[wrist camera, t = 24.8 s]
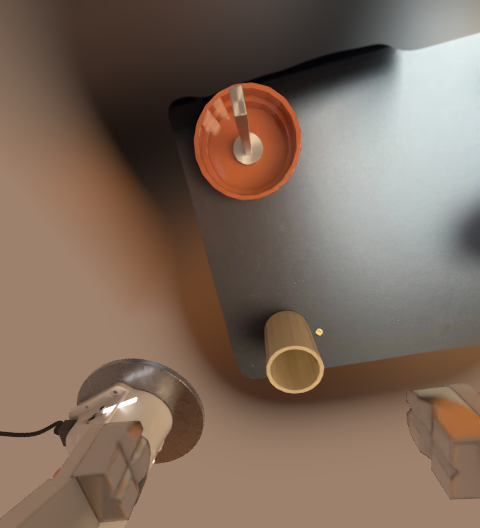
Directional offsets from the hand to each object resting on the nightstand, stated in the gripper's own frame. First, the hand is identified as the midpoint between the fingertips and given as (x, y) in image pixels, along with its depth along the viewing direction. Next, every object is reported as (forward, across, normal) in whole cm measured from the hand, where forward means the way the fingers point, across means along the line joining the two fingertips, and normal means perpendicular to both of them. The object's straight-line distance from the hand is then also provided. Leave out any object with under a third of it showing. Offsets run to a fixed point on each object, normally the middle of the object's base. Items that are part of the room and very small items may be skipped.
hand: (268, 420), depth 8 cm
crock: (+37, -2, +20) cm, 42 cm away
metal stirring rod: (+36, -1, -12) cm, 39 cm away
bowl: (+37, -1, -12) cm, 39 cm away
